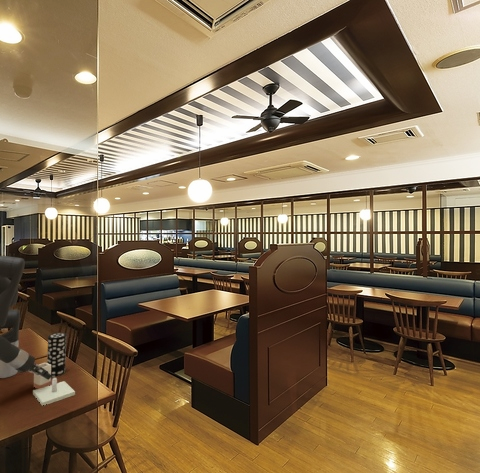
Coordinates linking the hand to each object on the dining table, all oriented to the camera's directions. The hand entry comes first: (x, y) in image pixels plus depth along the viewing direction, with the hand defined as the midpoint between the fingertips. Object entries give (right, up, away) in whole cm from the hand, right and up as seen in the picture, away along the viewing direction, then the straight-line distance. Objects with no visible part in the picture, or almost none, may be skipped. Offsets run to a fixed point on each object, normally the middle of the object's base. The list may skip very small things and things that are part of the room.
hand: (46, 376), depth 146 cm
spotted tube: (-2, -4, +12) cm, 13 cm away
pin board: (+9, -4, -8) cm, 13 cm away
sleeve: (-1, -4, -2) cm, 5 cm away
